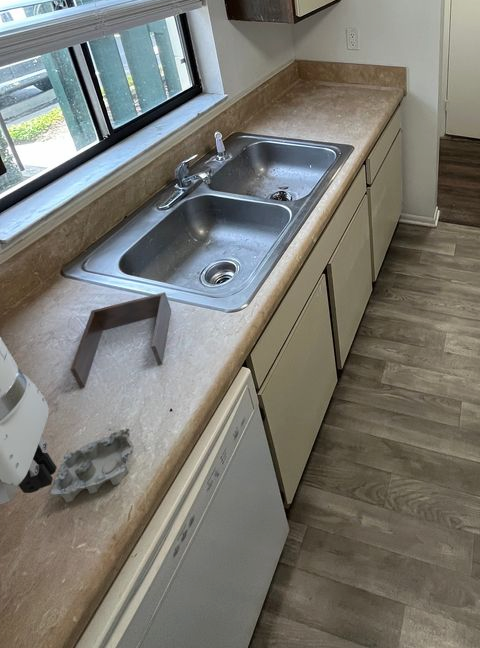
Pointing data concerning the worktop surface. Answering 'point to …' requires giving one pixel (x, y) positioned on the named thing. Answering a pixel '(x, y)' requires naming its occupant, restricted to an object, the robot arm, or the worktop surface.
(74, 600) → the worktop surface
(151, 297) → the frame
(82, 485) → the egg carton
